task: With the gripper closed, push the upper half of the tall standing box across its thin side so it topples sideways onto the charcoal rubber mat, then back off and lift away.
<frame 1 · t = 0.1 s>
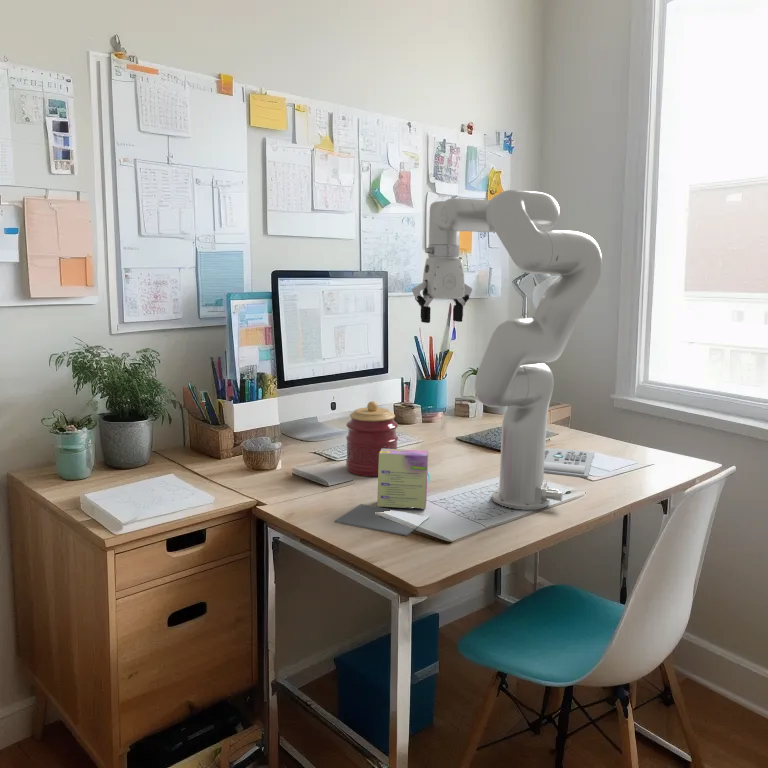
hand: (441, 321, 183), 37 cm above the table, tool pointing down, fingers open, 9 cm apart
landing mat: (382, 519, 149), on the table
box: (402, 505, 157), on the table, touching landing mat
canister: (371, 470, 184), on the table
office telephone: (552, 464, 194), on the table
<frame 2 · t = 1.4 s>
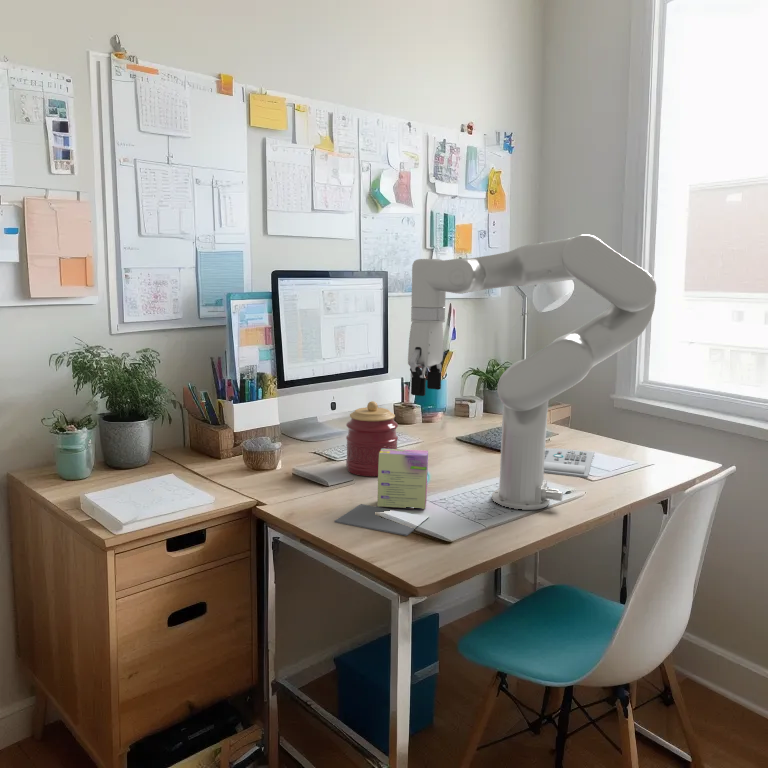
hand: (426, 391, 164), 23 cm above the table, tool pointing down, fingers open, 8 cm apart
nothing on the table moved.
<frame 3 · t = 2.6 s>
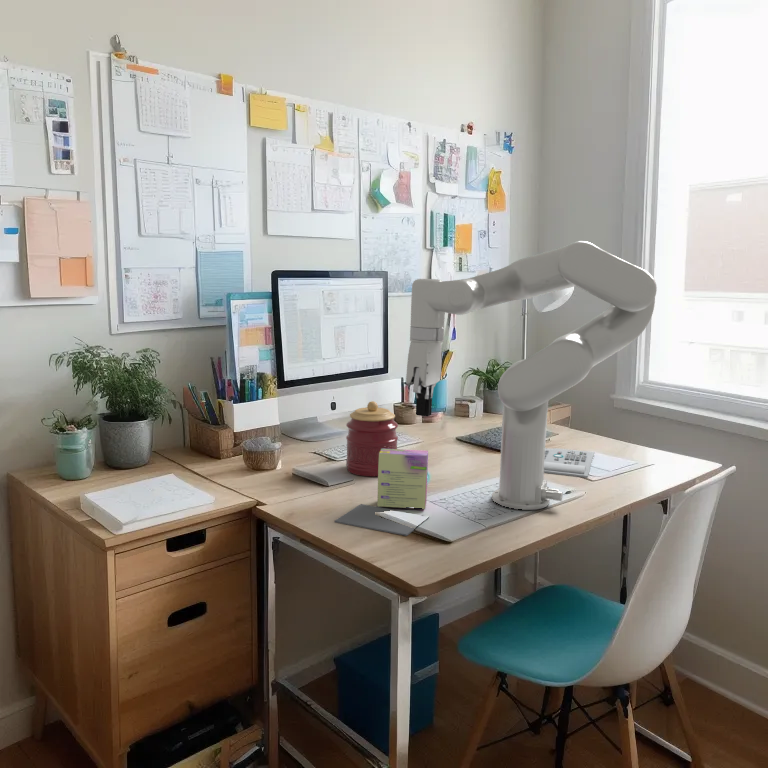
hand: (423, 415, 165), 18 cm above the table, tool pointing down, fingers closed
nothing on the table moved.
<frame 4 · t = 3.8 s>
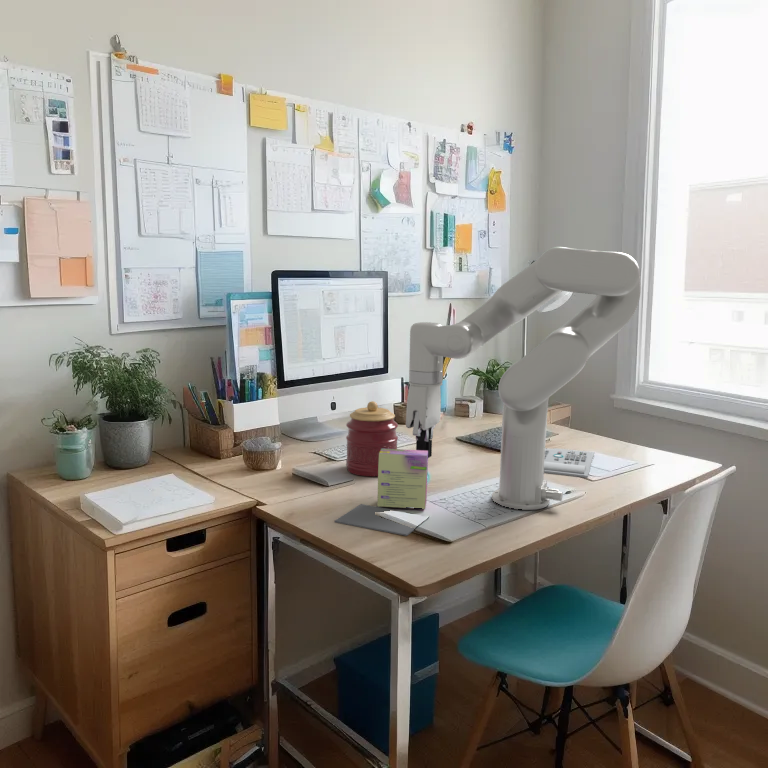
hand: (423, 456, 166), 8 cm above the table, tool pointing down, fingers closed
nothing on the table moved.
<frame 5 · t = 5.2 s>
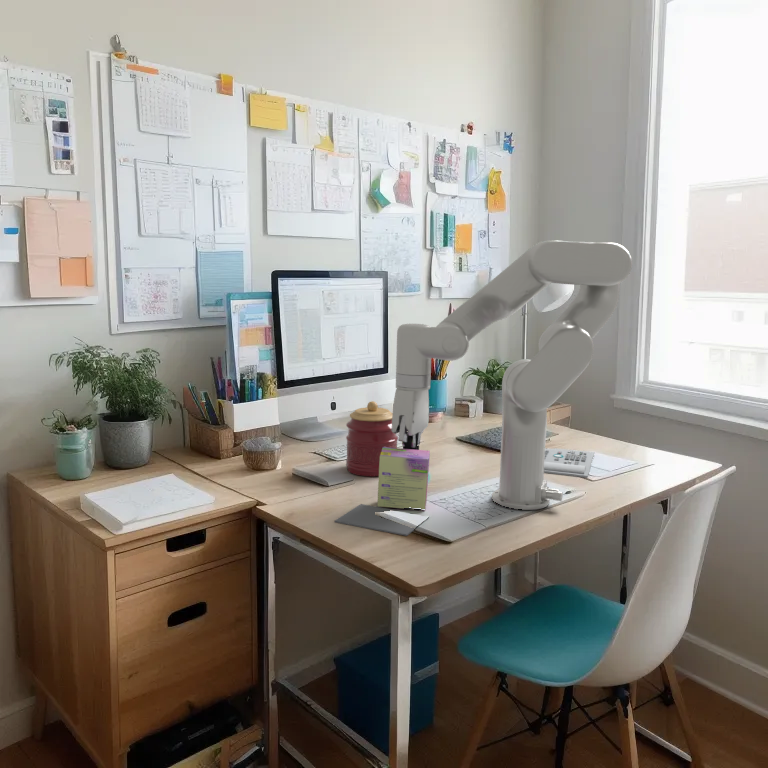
hand: (410, 463, 160), 8 cm above the table, tool pointing down, fingers closed
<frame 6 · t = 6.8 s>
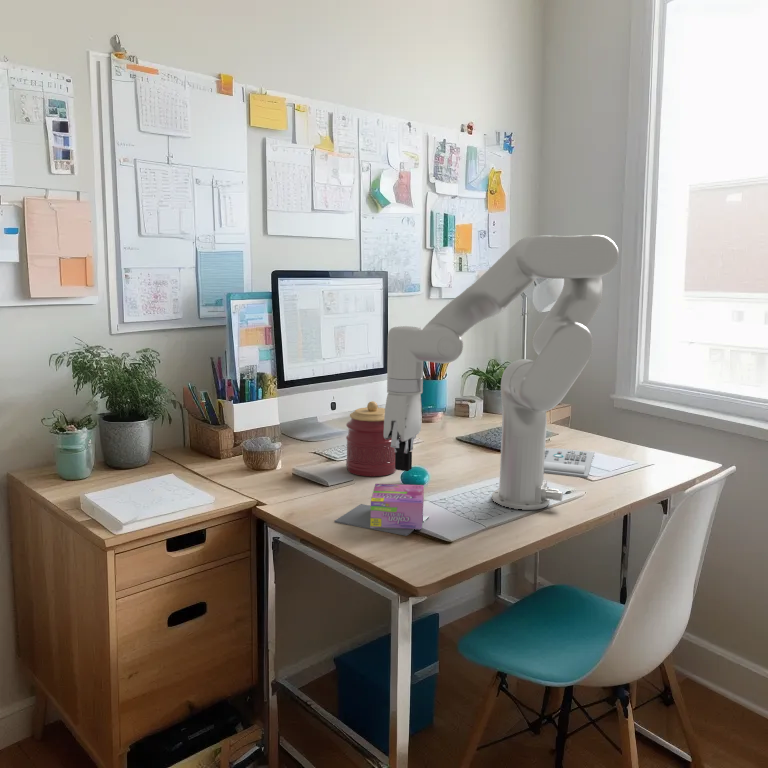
hand: (403, 469, 156), 8 cm above the table, tool pointing down, fingers closed
box: (399, 495, 154), point 3 cm above the table, touching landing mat
everything else where it was.
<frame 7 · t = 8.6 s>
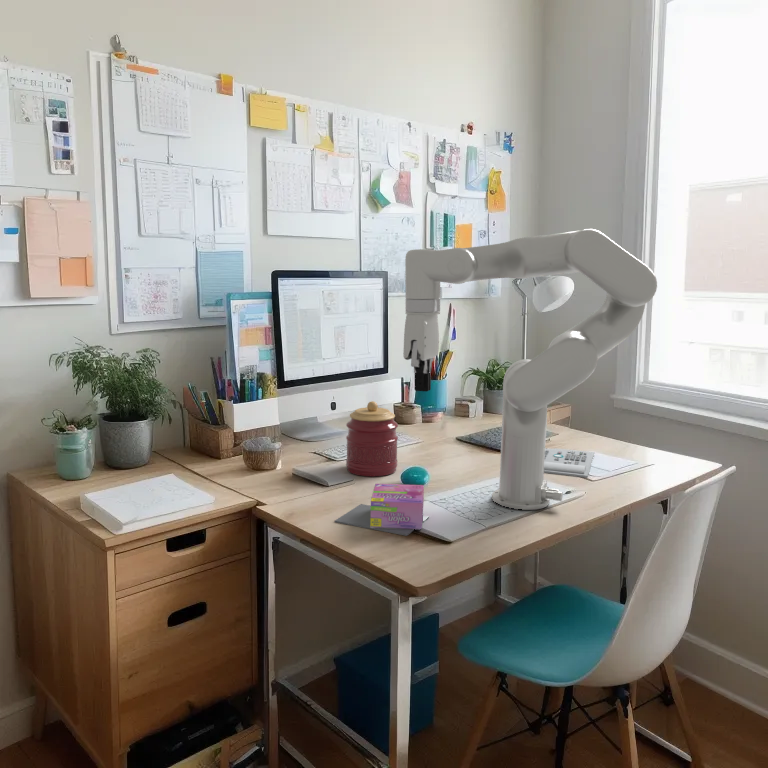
hand: (422, 390, 160), 24 cm above the table, tool pointing down, fingers closed
nothing on the table moved.
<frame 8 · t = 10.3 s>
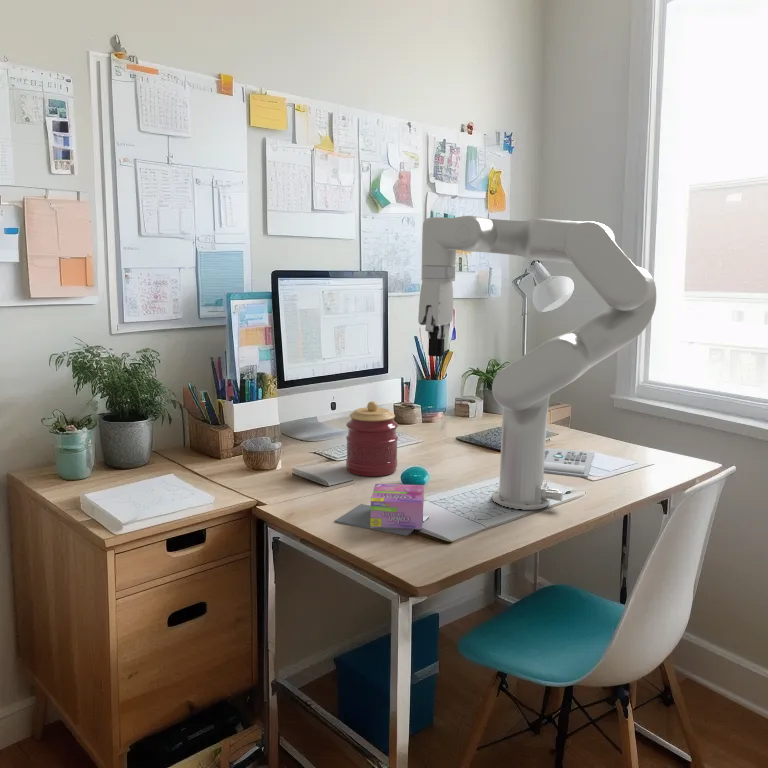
hand: (436, 355, 165), 31 cm above the table, tool pointing down, fingers closed
nothing on the table moved.
at the end: box tilted 90°; box inside the target area (0.6 cm from its centre), point 3.2 cm above the table; box touching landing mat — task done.
